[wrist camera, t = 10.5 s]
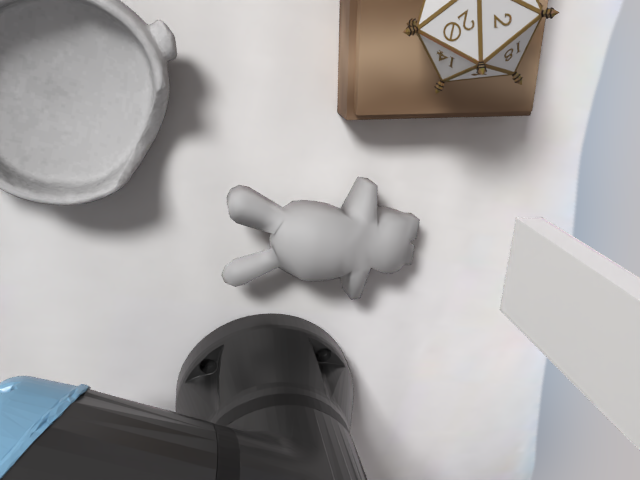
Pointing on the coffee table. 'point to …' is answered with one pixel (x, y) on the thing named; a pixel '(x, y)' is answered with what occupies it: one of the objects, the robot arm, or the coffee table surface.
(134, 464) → the robot arm
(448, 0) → the game die
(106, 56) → the dish
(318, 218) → the grey teddy bear
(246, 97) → the coffee table surface
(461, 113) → the plinth
